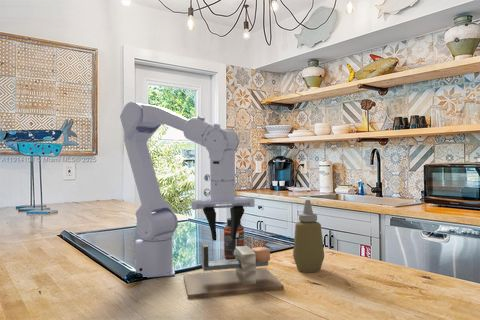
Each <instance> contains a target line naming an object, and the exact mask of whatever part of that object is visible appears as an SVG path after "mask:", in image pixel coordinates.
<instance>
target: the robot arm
mask: <svg viewBox="0 0 480 320" xmlns="http://www.w3.org/2000/svg"><path fill="white" fill-rule="evenodd" d="M119 118H120V122H121V125H122V130H123V142H124V145H125V149H126V153H127V154H126V155H127V156H128V159H129V160H128V161H129V163H130V169H131V171H132V174H133V179H134V182H135V185H136V189H137V193H138V197H139V200H140V204H141V205H140V206H139V208H137V210H136V211H135V214H134V215H135V217H136V231H137V234H138V235H139V237H140V238H141V239H135V243H134V245H135V246H134V251H135V252H134V256H135V257H134V258H135V259H134V260H135V261H134V270H135V273H136V272H139V273H142V274H143V277H147V278H157V277H158V278H160V277H170V276H175V273H176V272H175V266H174V264H173V261H174V260H173V237H174V232H175V231H176V230H177V228H178V225H179V220H178V216H177V215H176V213H175V212H174V211H173V209H172V206H171V204H170V203H169V202H168V201H166V200H165V199H164V198H163V196H162V193H161V192H162V191H161V189H160V185H159V182H158V179H157V175H156V172H155V168H154V165H153V161H152V156H151V154H150V150H149V147H148V144H147V143H148V141H149V139H151V138H152V136H153V135H154V134H155V133H156V132H157V131H158V129H159V128H161V126H163V125H166V126H169V127H171V128H173V129H176V130H179V131H181V132H183V135H184V137H185V139H187V140H189V141H191V142H193V143H196V144H198V145H199V146H202V147H204V148H205V149H206V151H208V159H209V160H210V161H209V163H210V164H209V166H210V167H209V169H210V172H209V173H210V198H208V199H207V198H206V199H205V198H204V199H194V200H191V209H192V210H193V211H194V210H195V211H196V210H202V212H203V213H204V215H205V218H206V220H207V222H208V226H209V229H210V232H211V239H212V241H213V242H214V241H215V242H216V241H217V227H216V226H217V224H216V223H217V212H216V209H227V208H229V211H230V218H231V238H232V239H236V233H237V229H238V225H239V222H240V220H242V218H243V215H244V213H245V208H247V207H248V208H249V207H250V208H255V198H253V197H236V159H235V158H236V157H235V155H236V153H235V152H236V150H237V149H238V147H239V144H240V139H239V136H238V134H237V133H236V132H235V131H234V130H232V129H231V128H221V124H219V123H214V124H213V123H211V122H210V121H209V122H208V121H206V118H205V117H204V116H201V115H200V116H199V115H197V116H193V117H190V118H187V117H185V116H182V115H180V114H178V113H177V112H174V111H172V110H170V109H168V108H166V107H162V106H161V107H160V106H158V105H151V104H144V103H139V102H136V101H129V102H127V103H126V104H125V105H124V107H123V108H122V111H121V113H120V116H119Z"/></svg>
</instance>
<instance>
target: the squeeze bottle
mask: <svg viewBox="0 0 480 320" xmlns="http://www.w3.org/2000/svg"><path fill="white" fill-rule="evenodd" d="M294 226H295V227H294V228H295V229H294V239H293V250H292V251H293V252H292V257H293V260H294V263H295V267H296V269H297V270H298V271H300V272H304V273H316V272H319V271H321V269H322V266H323V262H324V259H325V248H324V240H323V232H322V224H321V223H320V222H318V214H317V213H314V211H313V207H312V204H311V200H310V199H305V201H304V206H303V211H302V212H301V213H299V214H298V221H297V222H296V223H295V225H294Z"/></svg>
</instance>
